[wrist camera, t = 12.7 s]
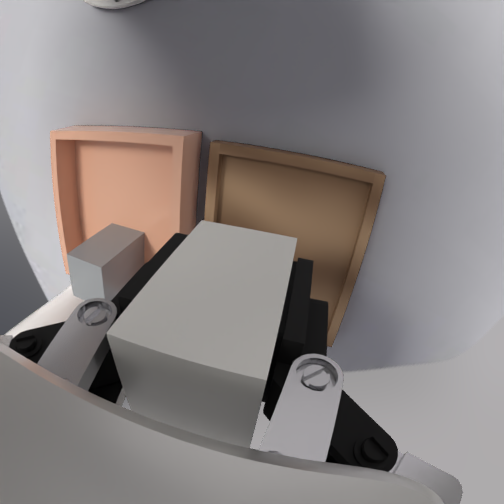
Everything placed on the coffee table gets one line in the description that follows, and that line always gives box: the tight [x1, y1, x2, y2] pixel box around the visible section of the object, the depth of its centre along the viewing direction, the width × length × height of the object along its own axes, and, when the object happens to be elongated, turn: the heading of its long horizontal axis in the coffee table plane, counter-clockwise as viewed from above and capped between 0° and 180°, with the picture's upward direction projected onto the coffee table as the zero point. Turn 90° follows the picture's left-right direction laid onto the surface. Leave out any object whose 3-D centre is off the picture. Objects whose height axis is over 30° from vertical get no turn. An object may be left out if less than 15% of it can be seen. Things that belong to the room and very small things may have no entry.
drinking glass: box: [5, 285, 84, 338], centre depth 25 cm, size 7×7×15 cm
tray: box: [204, 140, 386, 347], centre depth 23 cm, size 14×11×1 cm
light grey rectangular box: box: [106, 220, 297, 448], centre depth 9 cm, size 4×3×6 cm
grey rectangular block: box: [67, 223, 145, 301], centre depth 23 cm, size 4×3×6 cm
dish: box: [50, 125, 202, 275], centre depth 23 cm, size 13×12×3 cm
